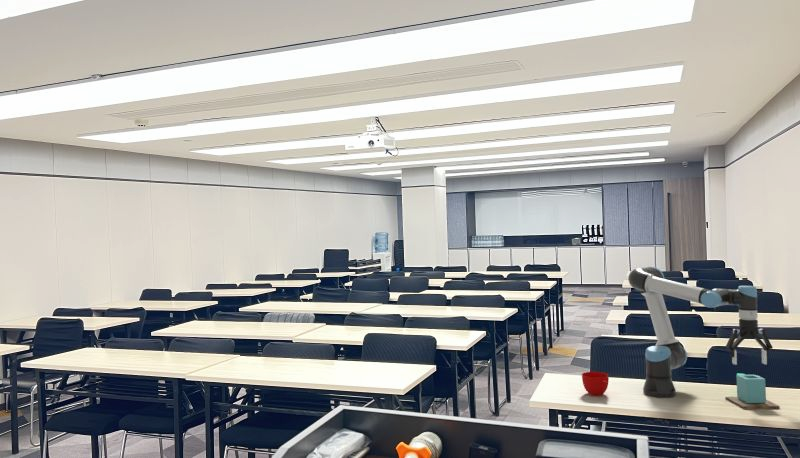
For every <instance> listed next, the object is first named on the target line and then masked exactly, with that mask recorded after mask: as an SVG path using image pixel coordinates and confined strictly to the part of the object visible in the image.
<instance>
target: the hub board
mask: <svg viewBox="0 0 800 458" xmlns="http://www.w3.org/2000/svg"><path fill="white" fill-rule="evenodd" d="M724 398H725V400H726V401H728V402H729V403H732V404H734V405H735V406H738V407H739V408H741V409H742V410H768V409H769V410H773V409H775V410H777V409H778V410H780V409H781V406H780V405H779V404H776V403H774V402H772V401H770V400H768V399H766V403H746V402H744V401H742V400H740V399H738V398H737V396H725V397H724Z"/></svg>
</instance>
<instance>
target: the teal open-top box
mask: <svg viewBox="0 0 800 458" xmlns="http://www.w3.org/2000/svg"><path fill="white" fill-rule="evenodd" d="M735 376H736V397H737V398H738V399H740V400H742V401H744V402H746V403H766V400H767V393H766V378H764V377H762V376H760V375H756V374H745V375H737V374H736V375H735Z"/></svg>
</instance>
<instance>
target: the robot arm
mask: <svg viewBox="0 0 800 458" xmlns="http://www.w3.org/2000/svg"><path fill="white" fill-rule="evenodd" d="M628 282H629V285H630V287H632V288H634V290H637V291H640V294H641V296H643V297H644V298H645V301H646V305H647V309H648V312H649V314H650V318H651V321H652V325H653V329H654V333H655V336H656V339H657V341H656V343H655V345H651V346H648V347H647V348H646V349H645V354H644V357H645V372H646V373H645V375H646V378H645V382H644V385H643V389H642V390H643V391H642V392H643V394H644V395H646V396H648V397H649V396H650V397H653V398H667V399H668V398H672V397H676V396H677V390H676V388H675V384H674V382H673V380H672V371H673V370H674V369H679V368H681V367H682V366H684V365H685V364H686V362H687V360H688V354H687V350H686V349H685V347H683V346H682V345H681V343H680V341H679V339H677V338H676V337H675V333H674V329H673V327H672V322H671V320H670V316H669V314H668V309H667V306H666V303H665V299H664V295H665V296H669V297H673V298H677V299H682V300H684V301H685V300H686V301H689V302H693V303H697V304H701V305H703V306H704V307H705V308H711V309H713V308H718V307H721V306H726V305H727V306H738V318H739V319H738V326H739V327H738V328H739V329H735V328H732V329H731V335H730V337H729V339H728V341H727V343H726V345H725V349H728V350H729V355H730V357H731V363H732V364H733V365H734V366H735V365H738V363H737V362H738V357H737V356H738V355H737V353H738V352H737V350H736V349H737V348H738V347H739V346H740V344H741V343H742V342H743V341H744V340H745V339H746V340H749V339H751V340H755V341H756V342H757V344H758V345H759V346H760V347H761V348H762V349H760V351H761V364H763V365H767V364H768V357H769V351H770V350H772V349H773V348H774V347H773V345H772V343H771V342H770V339H769V338H768V336H767V335H766V329H764V328H759V329H758V327H759V324H758V317H759V316H758V292H757V287H755V286H753V285H739V286H738V287H737V289H729V288H728V289H727V288H721V287H720V288H713V289H708V288H704V287H700V286H699V287H698V286H695V285H690V284H688V283H683V282H678V281H674V280H670V279H666V278H665V275H664V272H662V271H661V269H659V268H657V267H653V266H646V267H637V268H634V269H633V270H631V271H630V272H629V274H628ZM738 334H739V335H738ZM758 334H759V335H760V336H759V335H758ZM760 337H761V338H762V339H761V338H760Z"/></svg>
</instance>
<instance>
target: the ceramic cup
mask: <svg viewBox="0 0 800 458" xmlns="http://www.w3.org/2000/svg"><path fill="white" fill-rule="evenodd" d="M581 379H582V385H583V388H584V389H585V391H586V392H587V393H588V395H590V396H593V397H600V396H603V394H605V393H606V391H607V389H608V387H609V386H608V385H609V374H608V373H606V372H599V371H586V372H583V373H581Z"/></svg>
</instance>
